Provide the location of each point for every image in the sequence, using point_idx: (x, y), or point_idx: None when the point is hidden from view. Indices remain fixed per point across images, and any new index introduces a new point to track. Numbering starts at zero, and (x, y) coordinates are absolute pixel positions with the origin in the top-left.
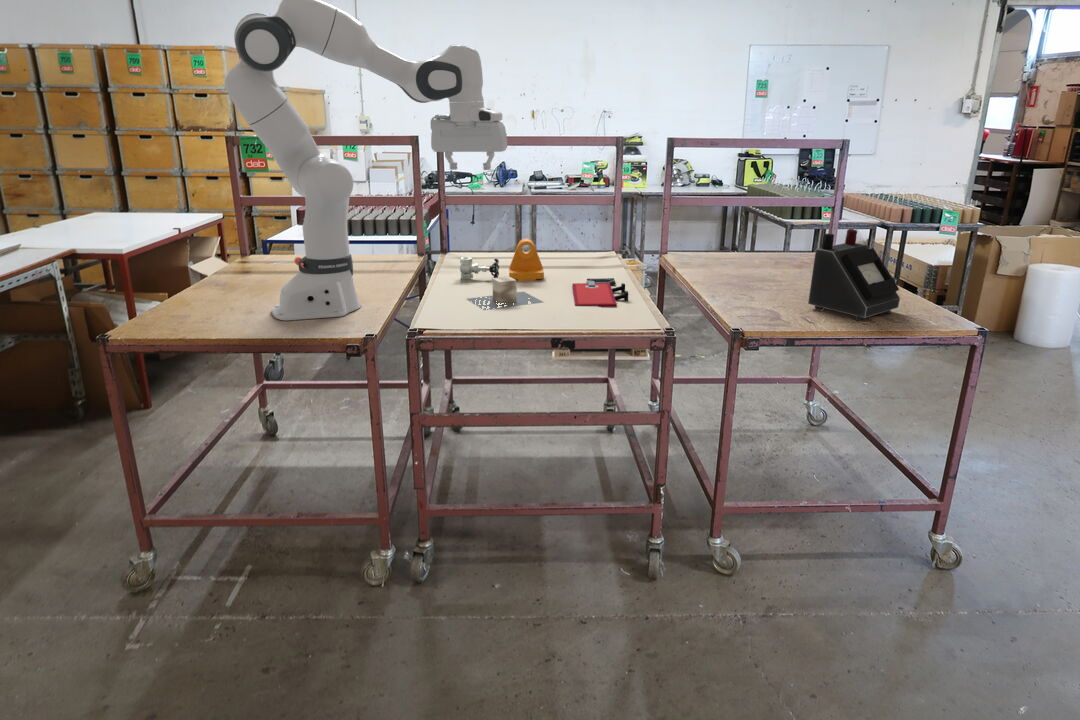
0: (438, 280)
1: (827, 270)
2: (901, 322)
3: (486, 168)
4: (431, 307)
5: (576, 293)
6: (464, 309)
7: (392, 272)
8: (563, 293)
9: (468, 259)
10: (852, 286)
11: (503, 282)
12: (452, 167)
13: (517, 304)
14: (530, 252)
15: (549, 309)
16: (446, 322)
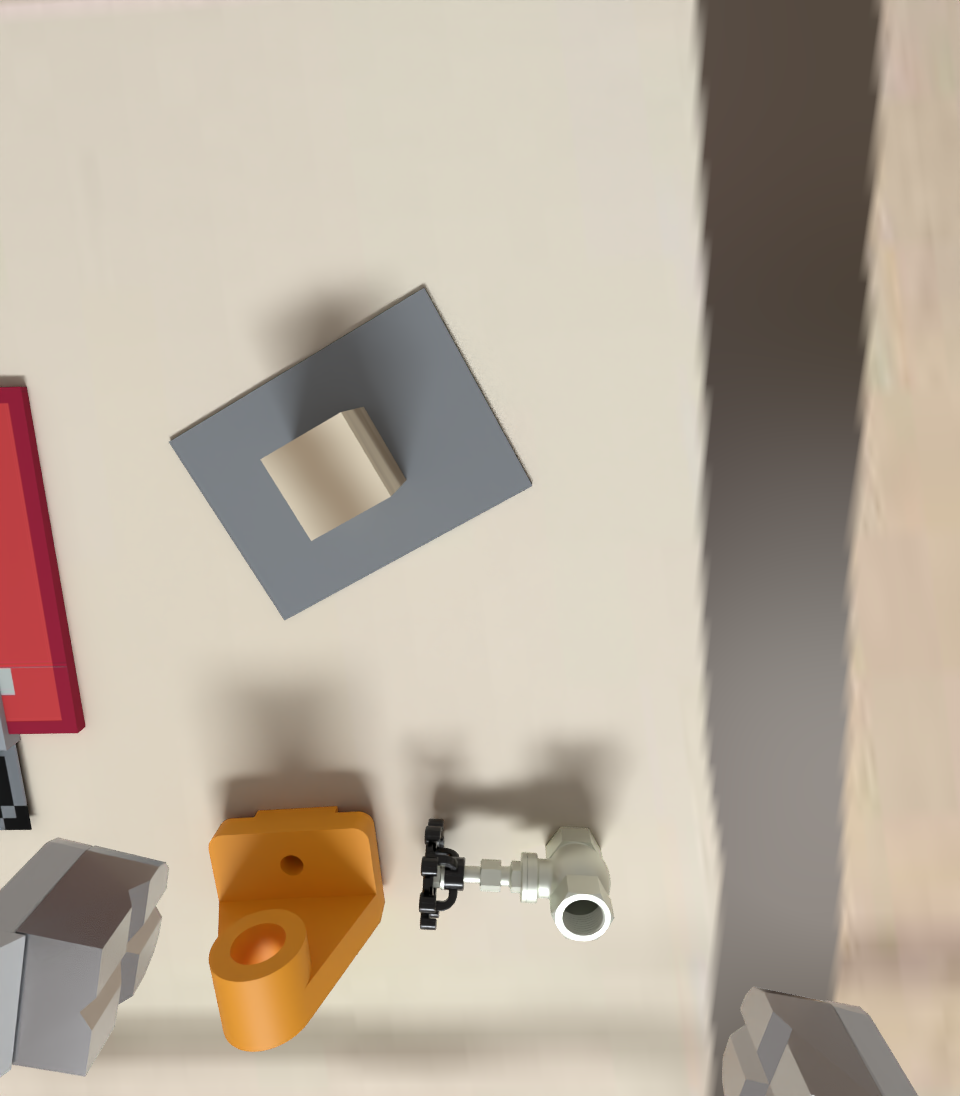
0: (700, 812)
1: None
2: None
3: (89, 850)
4: (676, 339)
5: (38, 569)
6: (517, 311)
7: (933, 947)
8: (108, 606)
9: (567, 894)
10: None
11: (323, 422)
12: (821, 1019)
13: (283, 396)
14: (242, 938)
15: (132, 332)
16: (572, 75)
